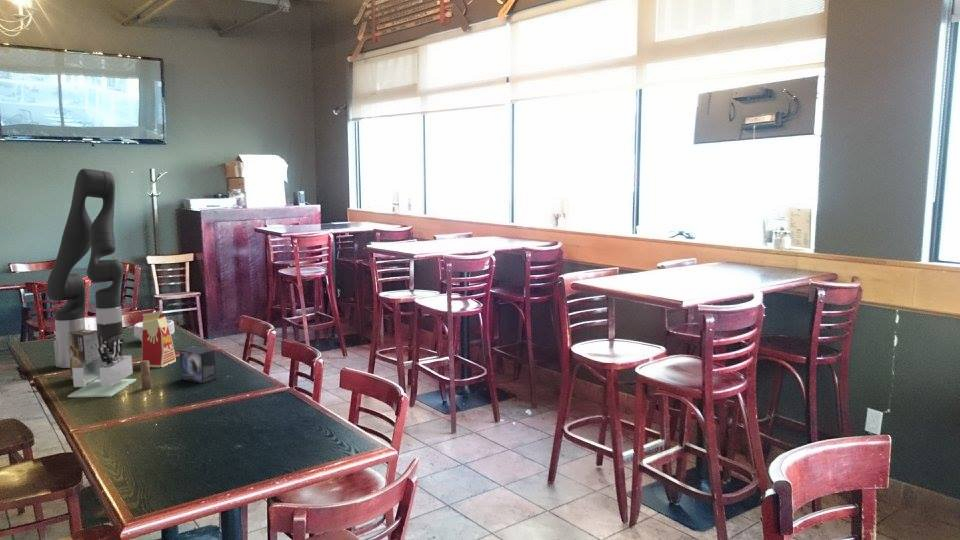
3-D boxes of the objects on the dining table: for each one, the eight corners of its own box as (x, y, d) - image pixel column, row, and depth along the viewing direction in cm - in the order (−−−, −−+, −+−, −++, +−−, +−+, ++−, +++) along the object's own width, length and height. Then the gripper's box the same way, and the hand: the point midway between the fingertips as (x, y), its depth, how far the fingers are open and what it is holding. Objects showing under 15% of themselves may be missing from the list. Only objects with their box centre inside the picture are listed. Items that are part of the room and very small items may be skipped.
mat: (67, 397, 216) (67, 395, 216) (96, 380, 234) (96, 379, 234) (110, 396, 217) (110, 395, 217) (136, 380, 235) (136, 378, 235)
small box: (179, 380, 235) (177, 349, 234) (195, 375, 241) (193, 345, 240) (201, 384, 230) (200, 352, 229) (217, 379, 236) (215, 348, 235)
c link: (97, 373, 233) (96, 356, 232) (132, 373, 233) (131, 355, 232) (73, 386, 218) (72, 368, 217) (111, 386, 218) (110, 367, 218)
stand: (140, 389, 224) (138, 362, 223) (144, 387, 226) (142, 360, 225) (148, 389, 224) (147, 362, 223) (152, 387, 227) (150, 360, 225)
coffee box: (105, 377, 238) (101, 331, 236) (86, 382, 232) (83, 335, 230) (88, 374, 242) (84, 328, 240) (69, 379, 236) (66, 332, 234)
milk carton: (176, 361, 260) (173, 307, 257) (162, 367, 251) (159, 312, 248) (152, 360, 261) (149, 307, 258) (138, 367, 251) (134, 312, 249)
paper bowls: (126, 344, 287) (124, 325, 286) (153, 336, 301) (152, 318, 300) (156, 346, 282) (155, 327, 281) (183, 338, 297) (182, 320, 296)
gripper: (107, 316, 236) (111, 366, 238) (86, 325, 223) (91, 378, 225) (130, 316, 237) (134, 366, 239) (111, 324, 223) (115, 377, 225)
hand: (113, 371), depth 232 cm, fingers closed on c link
